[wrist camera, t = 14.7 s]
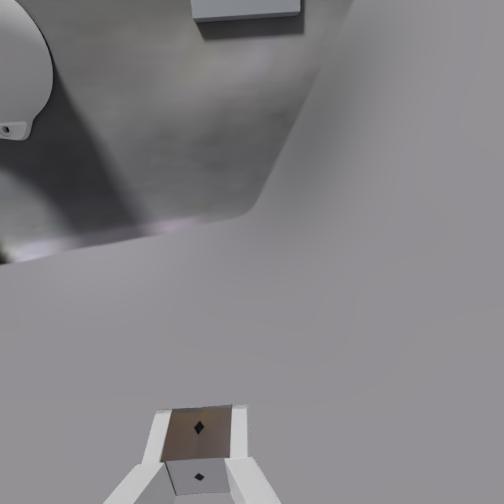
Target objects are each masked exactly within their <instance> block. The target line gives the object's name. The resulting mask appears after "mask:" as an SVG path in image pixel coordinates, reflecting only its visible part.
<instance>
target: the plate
mask: <svg viewBox="0 0 504 504" xmlns="http://www.w3.org/2000/svg"><path fill="white" fill-rule="evenodd" d="M191 7H192V15H193V19H194V21H195V23H198V22H213V21H227V20H242V19H257V18H272V17H287V16H297V15H298V14H299V12H300V0H191Z"/></svg>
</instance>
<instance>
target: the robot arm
mask: <svg viewBox="0 0 504 504" xmlns="http://www.w3.org/2000/svg"><path fill="white" fill-rule="evenodd" d="M52 84H53V70H52V63H51V58H50V54H49V51H48V48H47V46H46V43H45V41H44V39H43V37H42V35H41V33H40V31H39V29H38V28H37V26H36V25H35V23H34V22H33V20H32V19H31V18H30V16H29V15H28V14H27V13H26V11H25V10H24V9H23V8H22V7H21V6H20V5H19V4H18V3H17V2H16V1H14V0H0V138H3V139H11V140H25V139H27V138H28V136H29V134H30V131H31V127H32V122H33V120H34V118H35V117H36V115H37V114H38V113H39V112H40V111H41V110H42V109H43V108H44V106H45V105H46V103H47V101H48V99H49V97H50V94H51V90H52ZM6 127H8V128H9V132H8V131H7V130H6ZM222 492H231V495H232V498H233V500H234V502H235V504H281V502H280V500H279V499H278V497H277V496H276V494H275V492H274V491H273V489H272V487H271V486H270V484H269V482H268V481H267V479H266V477H265V476H264V474H263V472H262V471H261V469H260V467H259V466H258V464H257V462H256V461H255V459H254V458H253V457H251V434H250V421H249V411H248V404H240V405H222V406H221V405H220V406H208V407H201V408H182V409H161V410H158V411H157V412H156V414H155V417H154V421H153V424H152V427H151V431H150V434H149V438H148V442H147V445H146V449H145V452H144V456H143V459H142V463H141V464H136V465H135V466H134V468H133V469H132V470H131V471H130V472H129V474H128V475H127V476H126V477H125V478H124V479H123V481H122V482H121V483H120V484H119V485H118V487H117V488H116V489H115V490H114V491H113V492H112V494H111V495H110V496H109V497H108V498H107V500H106V501H105V502H104V503H103V504H173V502H174V501H175V499H176V496H177V495H188V494H199V493H222Z"/></svg>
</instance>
